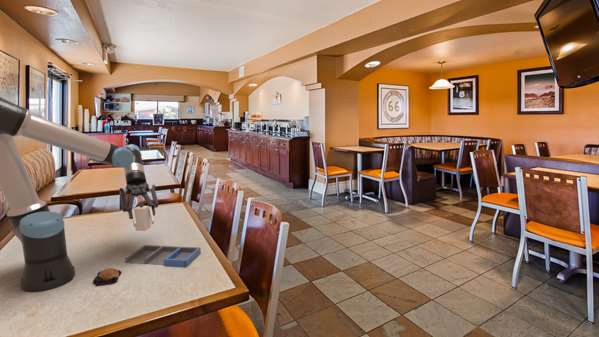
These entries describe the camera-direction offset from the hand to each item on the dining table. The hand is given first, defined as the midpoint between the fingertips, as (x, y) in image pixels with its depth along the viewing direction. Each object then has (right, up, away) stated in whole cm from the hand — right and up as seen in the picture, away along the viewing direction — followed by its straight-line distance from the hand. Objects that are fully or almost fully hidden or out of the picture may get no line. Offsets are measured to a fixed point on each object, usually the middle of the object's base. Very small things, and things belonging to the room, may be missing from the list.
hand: (144, 223), depth 128 cm
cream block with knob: (-2, -3, +3) cm, 5 cm away
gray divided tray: (+6, -15, +4) cm, 16 cm away
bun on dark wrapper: (-7, -18, -12) cm, 23 cm away
